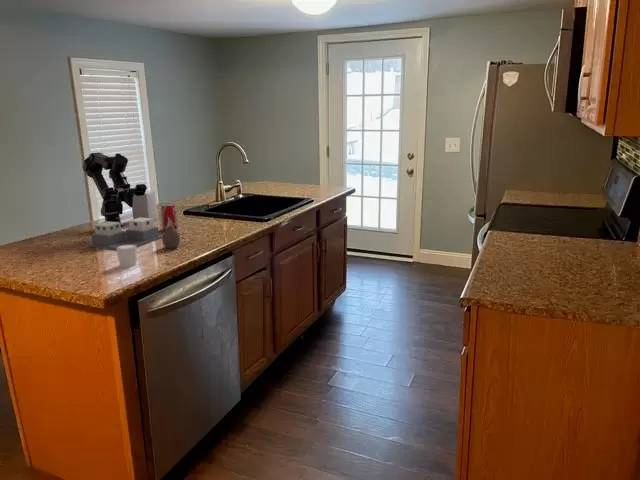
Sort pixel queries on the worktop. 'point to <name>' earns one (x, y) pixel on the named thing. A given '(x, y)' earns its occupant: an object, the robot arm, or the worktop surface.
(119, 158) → the robot arm
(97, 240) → the board
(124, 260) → the shot glass
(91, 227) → the worktop surface
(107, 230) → the grey-green block
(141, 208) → the supplement box
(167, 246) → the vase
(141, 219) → the cream block with holes
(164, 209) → the soda can
